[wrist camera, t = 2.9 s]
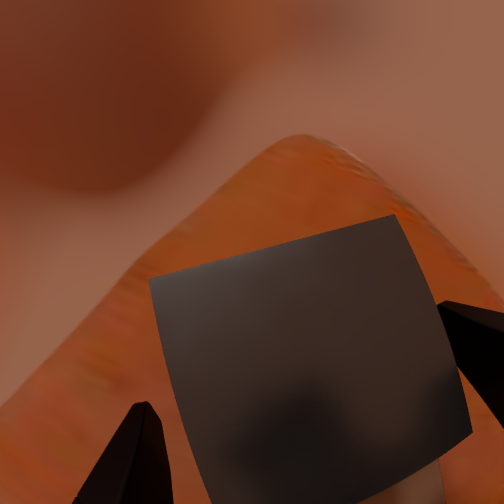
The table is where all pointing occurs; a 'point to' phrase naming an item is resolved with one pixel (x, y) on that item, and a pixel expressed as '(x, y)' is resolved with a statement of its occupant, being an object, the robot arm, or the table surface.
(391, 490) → the walnut block
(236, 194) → the table surface
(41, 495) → the table surface
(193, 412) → the tea tin
